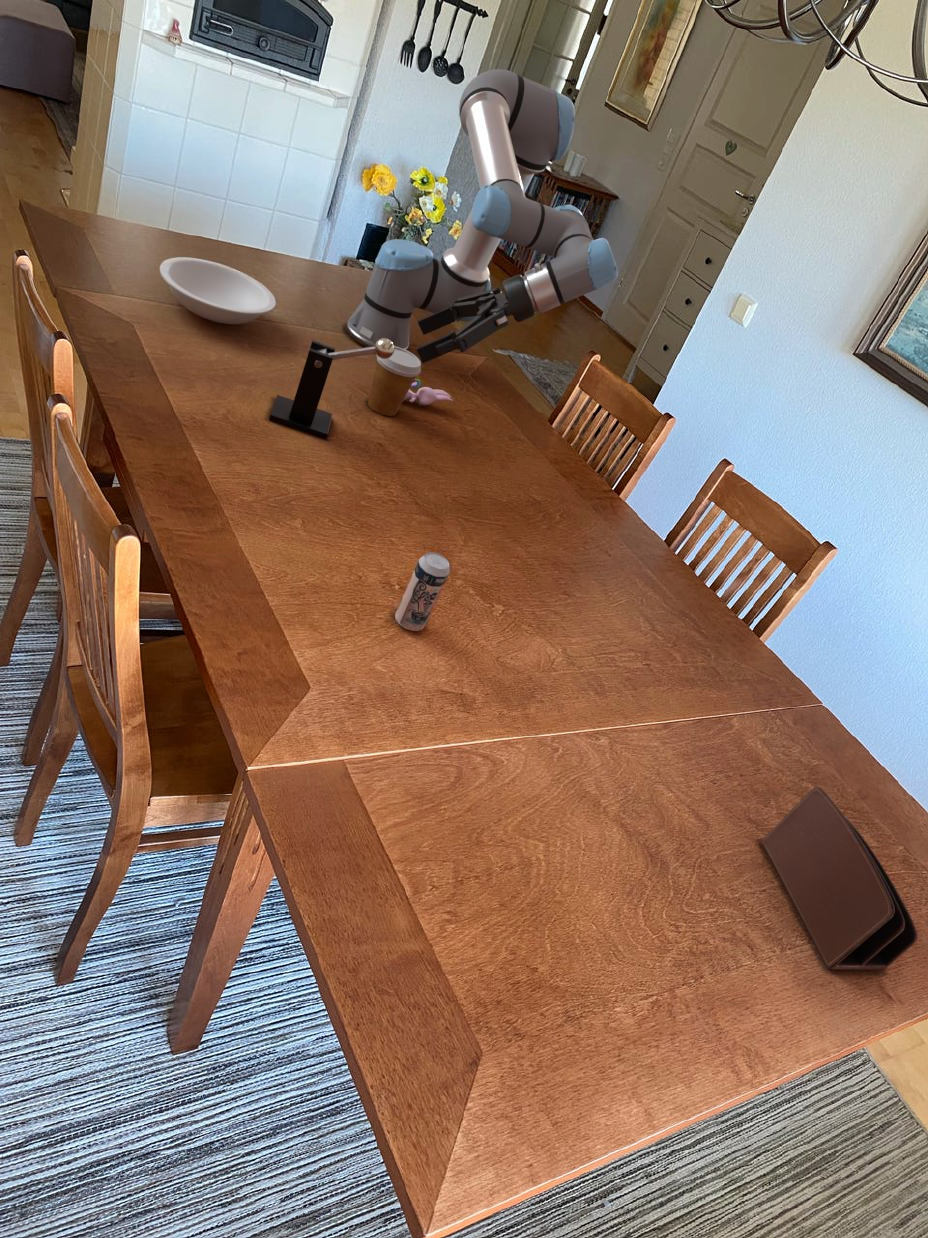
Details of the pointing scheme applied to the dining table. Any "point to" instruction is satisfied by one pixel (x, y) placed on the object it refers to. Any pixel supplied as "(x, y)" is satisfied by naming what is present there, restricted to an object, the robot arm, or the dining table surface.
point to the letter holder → (839, 887)
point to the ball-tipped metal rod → (366, 350)
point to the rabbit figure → (426, 394)
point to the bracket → (307, 396)
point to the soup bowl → (216, 290)
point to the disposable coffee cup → (393, 381)
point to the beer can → (422, 591)
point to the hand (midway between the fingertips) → (419, 341)
